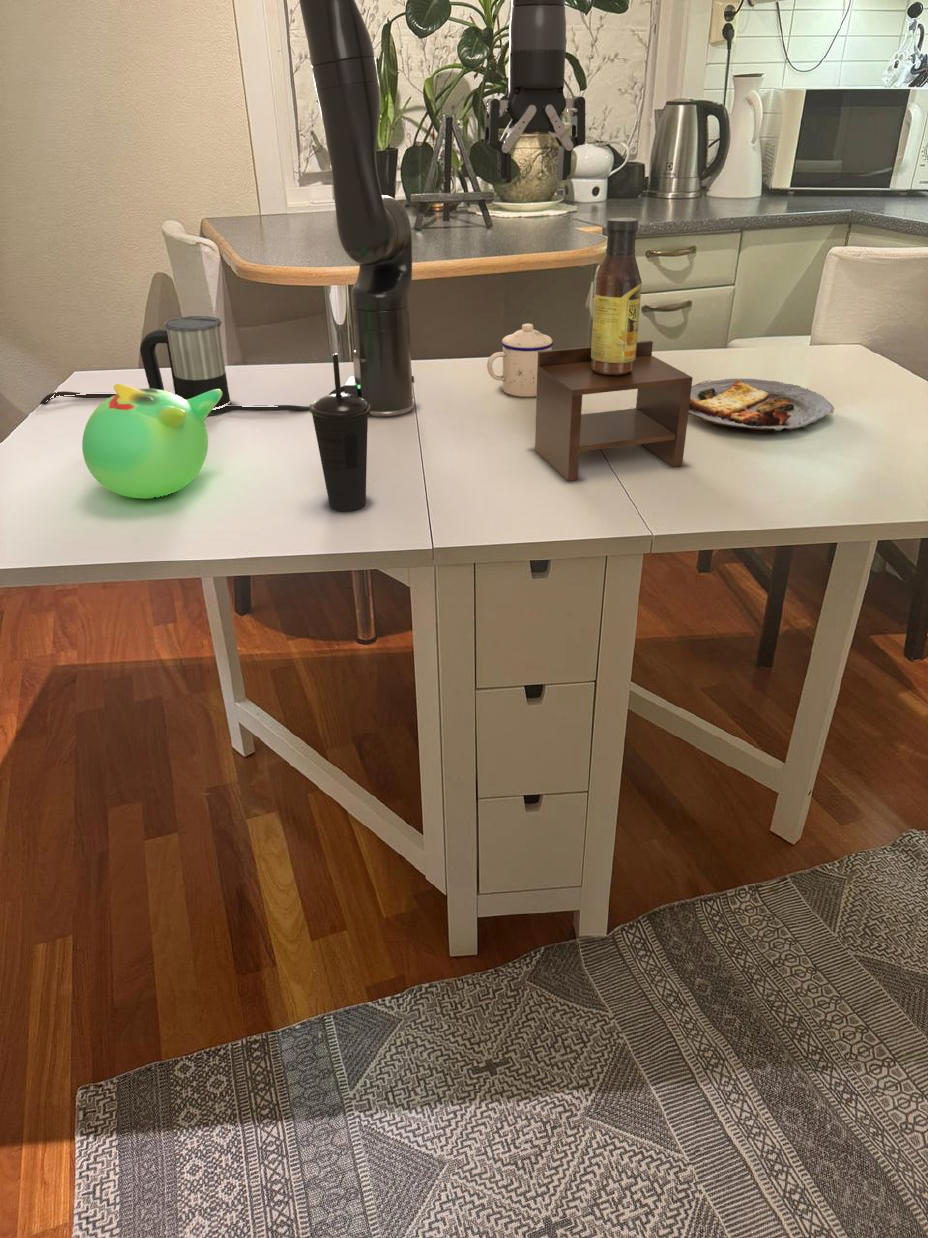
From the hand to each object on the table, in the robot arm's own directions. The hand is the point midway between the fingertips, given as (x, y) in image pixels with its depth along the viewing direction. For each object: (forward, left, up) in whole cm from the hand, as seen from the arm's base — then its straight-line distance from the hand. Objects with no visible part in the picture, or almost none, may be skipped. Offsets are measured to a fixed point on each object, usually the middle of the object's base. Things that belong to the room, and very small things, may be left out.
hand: (533, 181), depth 130 cm
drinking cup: (-34, -22, -36) cm, 54 cm away
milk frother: (-52, +23, -36) cm, 67 cm away
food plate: (+37, -7, -36) cm, 52 cm away
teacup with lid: (+5, +18, -36) cm, 41 cm away
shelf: (+6, -18, -36) cm, 41 cm away
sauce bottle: (+6, -17, -23) cm, 30 cm away
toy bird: (-58, -9, -36) cm, 69 cm away
